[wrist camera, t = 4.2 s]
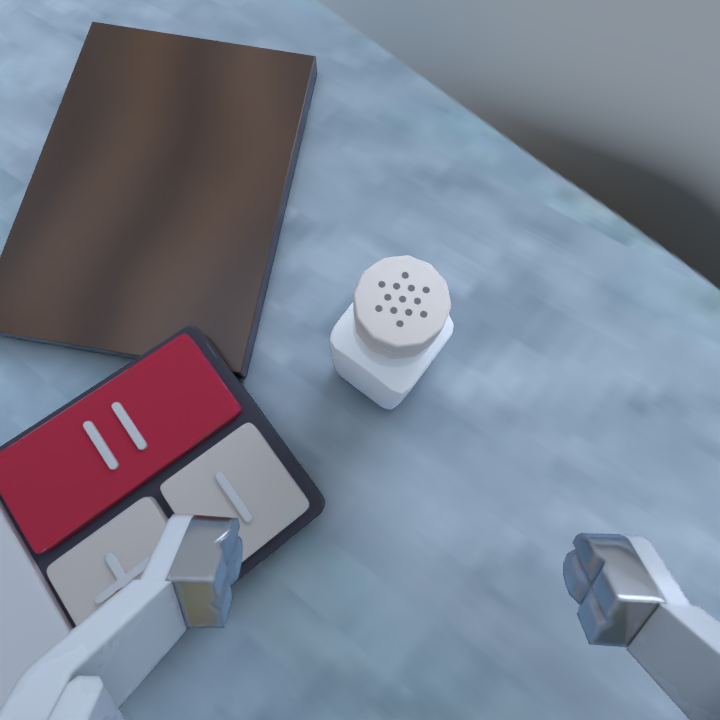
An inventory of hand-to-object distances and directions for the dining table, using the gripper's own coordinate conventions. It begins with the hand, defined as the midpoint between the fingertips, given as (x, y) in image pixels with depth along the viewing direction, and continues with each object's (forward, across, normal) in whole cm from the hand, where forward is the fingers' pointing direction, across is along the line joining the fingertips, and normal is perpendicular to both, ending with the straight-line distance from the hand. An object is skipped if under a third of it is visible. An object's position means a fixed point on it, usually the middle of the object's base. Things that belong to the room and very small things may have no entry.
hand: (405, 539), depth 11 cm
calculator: (+8, +12, +9) cm, 17 cm away
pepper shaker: (+13, 0, +3) cm, 14 cm away
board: (+20, +13, -4) cm, 24 cm away
